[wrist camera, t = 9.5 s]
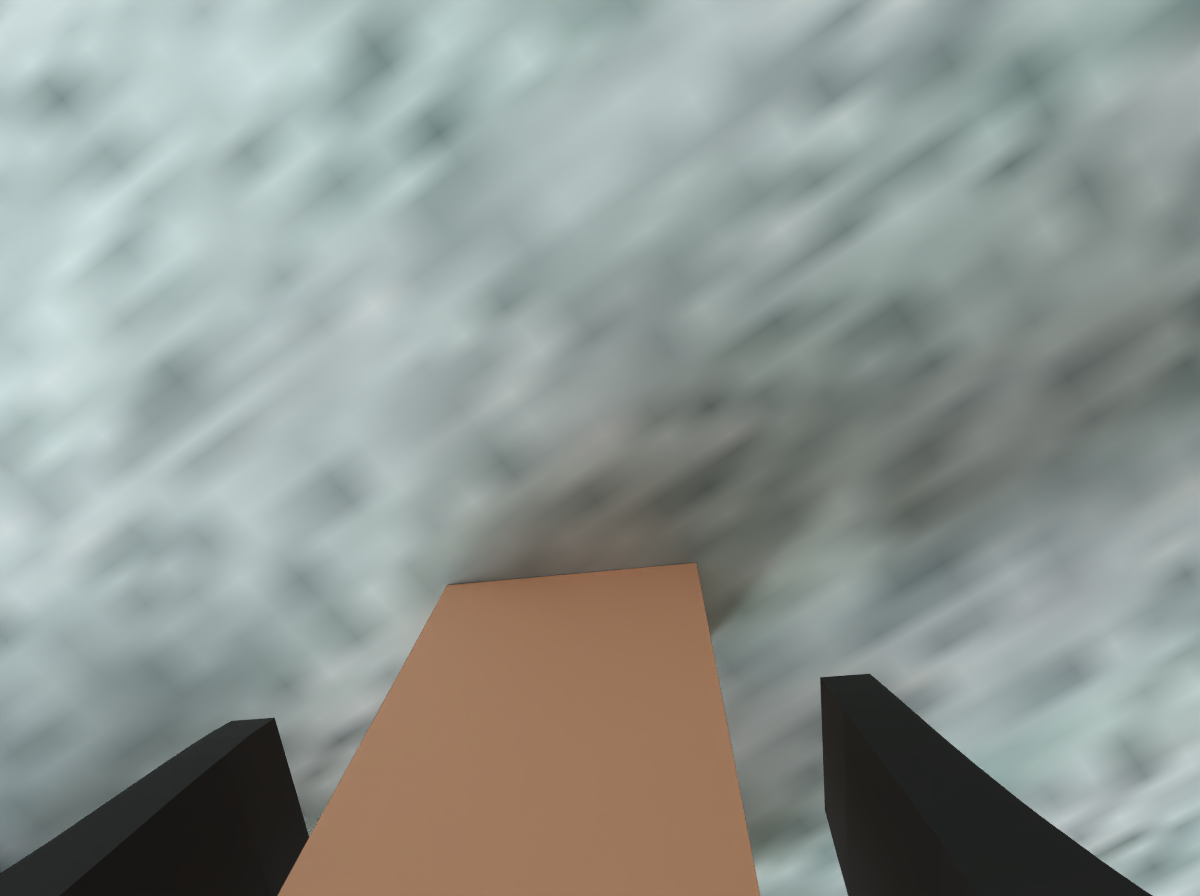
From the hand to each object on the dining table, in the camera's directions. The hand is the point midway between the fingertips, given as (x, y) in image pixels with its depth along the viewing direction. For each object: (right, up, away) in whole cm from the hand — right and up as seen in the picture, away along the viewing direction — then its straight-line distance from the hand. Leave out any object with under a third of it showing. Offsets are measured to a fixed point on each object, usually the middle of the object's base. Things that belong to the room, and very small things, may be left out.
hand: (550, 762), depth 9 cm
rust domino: (0, +1, +4) cm, 4 cm away
